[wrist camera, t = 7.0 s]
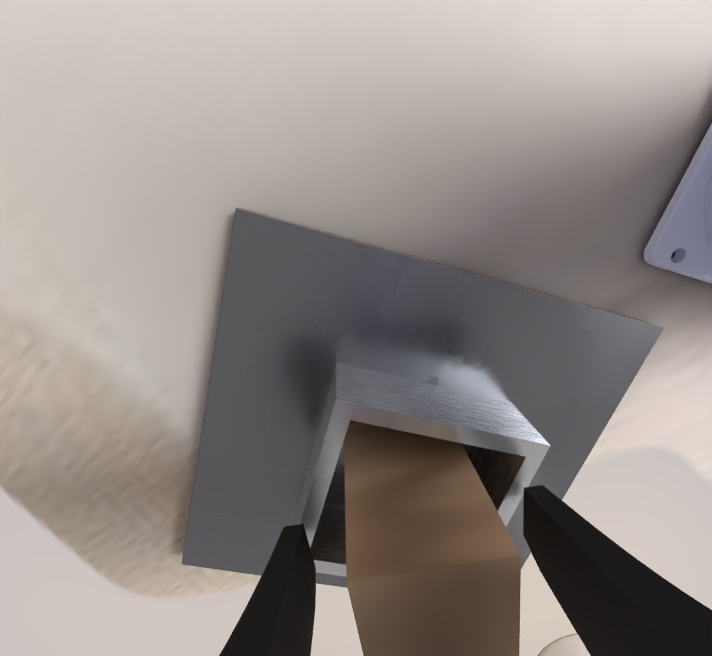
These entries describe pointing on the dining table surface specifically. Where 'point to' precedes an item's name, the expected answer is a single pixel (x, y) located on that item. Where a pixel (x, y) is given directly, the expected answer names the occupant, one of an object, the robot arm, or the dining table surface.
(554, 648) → the drinking glass
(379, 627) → the rail end post
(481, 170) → the dining table surface
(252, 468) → the grey square socket base
